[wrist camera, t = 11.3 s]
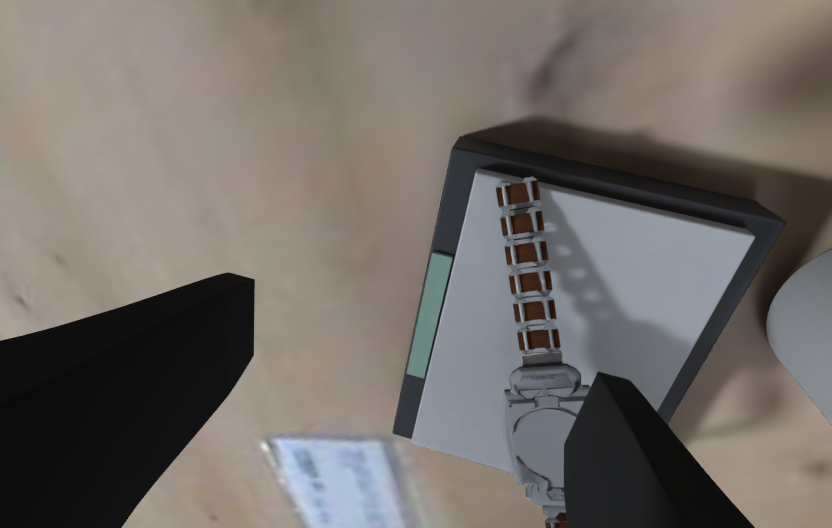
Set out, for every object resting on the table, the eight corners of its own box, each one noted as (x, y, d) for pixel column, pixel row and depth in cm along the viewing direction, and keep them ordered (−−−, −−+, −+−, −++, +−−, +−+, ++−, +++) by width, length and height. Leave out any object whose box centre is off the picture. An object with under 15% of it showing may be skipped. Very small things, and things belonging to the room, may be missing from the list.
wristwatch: (529, 504, 21) (525, 595, 16) (481, 189, 20) (462, 187, 15) (613, 505, 20) (636, 603, 15) (569, 174, 19) (580, 165, 14)
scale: (613, 463, 23) (625, 515, 20) (402, 402, 24) (388, 445, 21) (756, 201, 16) (799, 229, 14) (459, 135, 18) (449, 150, 15)
